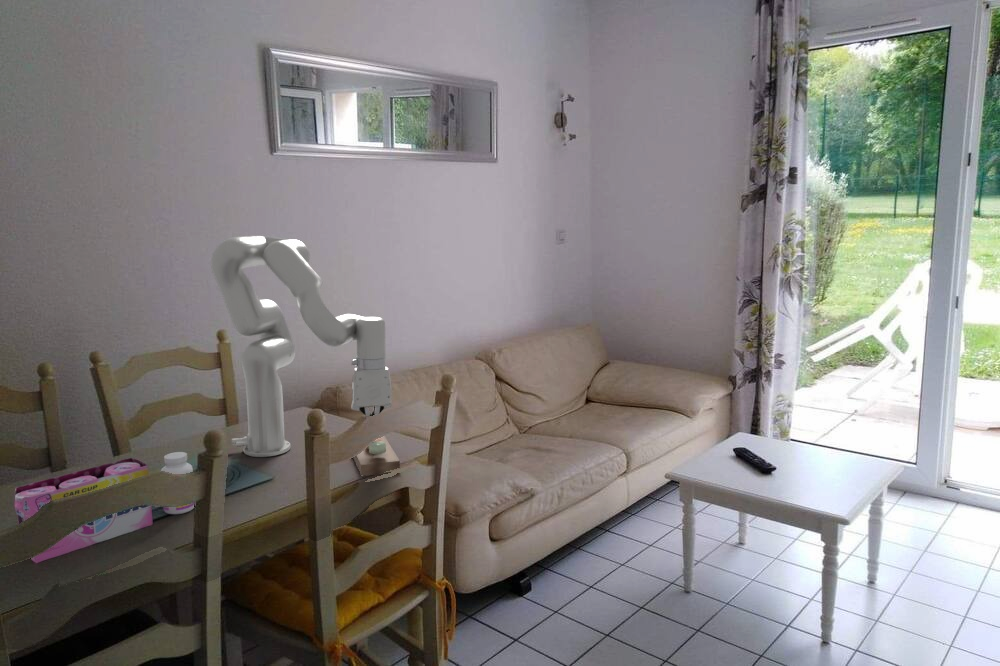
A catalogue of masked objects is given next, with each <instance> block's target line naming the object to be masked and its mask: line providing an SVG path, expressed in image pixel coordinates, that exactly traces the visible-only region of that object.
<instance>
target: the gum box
mask: <svg viewBox="0 0 1000 666" xmlns="http://www.w3.org/2000/svg"><path fill="white" fill-rule="evenodd" d="M145 475H149V476H150V471H149V465H148V464H146V463H145V462H143V461H141V460H139V459H137V458H135V457H130V458H124V459H119V460H117V461H112V462H109V463H105V464H101V465H97V466H93V467H90V468H85V469H81V470H78V471H75V472H71V473H66V474H62V475H59V476H58V475H57V476H55V477H51V478H47V479H42V480H39V481H34V482H32V483H28V484H27V483H26V484H25V485H19V486H17V487H15V489H14V509H15V513H16V516H17V523H18V525H19V524H20V523H21V522H23V521H25V520H27V519H28V518H30V517H31V516H33V515H34V514H35V513H36V512H38V511H39V509H40V508H41V507H42V506H44V505H46V504H47V503H49V502H50V501H52V500H55V499H60V498H66V497H72V496H77V495H81V494H85V493H88V492H92V491H95V490H99V489H103V488H106V487H109V486H112V485H114V484H118V483H122V482H125V481H129V480H132V479H135V478H138V477H142V476H145ZM152 508H153V507H152V505H151V506H142V507H137V508H132V509H128V510H125V511H122V512H118V513H114V514H111V515H109V516H105V517H103V518H101V519H98V520H96V521H94V522H91V523H88V524H86V525H83V526H81V527H79V528H78V529H76V530H75V531H73V532H72V533H70V534H69V535H67V536H66V537H64V538H63V539H62V540H60V541H59V542H58V543H56V544H55V545H54V546H52V547H51V548H49V549H48V550H46V551H45V552H43V553H41V554H39V555H37V556H35V557H33V558H31V559H30V560H31V561H32V562H33V563H35V564H39V563H41V562H43V561H47V560H50V559H53V558H56V557H60V556H62V555H65V554H68V553H71V552H74V551H77V550H80V549H84V548H87V547H90V546H92V545H95V544H97V543H101V542H104V541H108V540H111V539H114V538H116V537H119V536H122V535H125V534H128V533H132V532H134V531H137V530H140V529H143V528H146V527H148V526H152V525H153V511H152Z"/></svg>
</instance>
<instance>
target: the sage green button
mask: <svg viewBox="0 0 1000 666" xmlns="http://www.w3.org/2000/svg"><path fill="white" fill-rule="evenodd" d="M369 452H370V453H372V454H382V453H385V452H386V443H385V442H382V441H375V442H372V443H371V444H369Z"/></svg>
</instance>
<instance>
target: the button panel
mask: <svg viewBox="0 0 1000 666" xmlns="http://www.w3.org/2000/svg"><path fill="white" fill-rule="evenodd" d="M381 441H382V442H385V443H386V452H385V453H382V454H372V453H370V452H369V449H365V450H364V451H362V452H361V453H360V454H358V455H356V456H355V457H354V458H353V461H354V460H355V461H354V462H356V463H355V465H356V464H357V465H356V467H357V466H358V468H359V470H358V471H360V472H359V474H360V473H361V474H360V476H361V475H366V476H367V477H368V476H376V475H382V474H381V473H384V472H386V471H390V470H394V469H397V468H400V469H401V461H400V458H399V457H398V456H397V454H396V451H394V449H393V447H392V446H391V444H390V443H389V441H388V440H387V438H386V436H385V435H384V436H383V437H381ZM358 468H357V469H358ZM366 476H365V477H366Z"/></svg>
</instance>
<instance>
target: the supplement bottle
mask: <svg viewBox="0 0 1000 666" xmlns="http://www.w3.org/2000/svg"><path fill="white" fill-rule="evenodd" d="M187 461H188V453H187V452H184V451H175V452H170V453H168V454H165V455H164V457H163V462H164V464H165V465H164V466H163V467H162V468H161V470H160V472H161V471H165V472H169V473H172V474H186V473H190V472H193V473H194V467H193V465H191V464H190V463H189V462H187ZM162 509H163V512H165V513H166V514H168V515H181V514H185V513H188V512H191V511H192V510H193V509H195V507H194V503H191V504H187V505H183V506H178V507H163V506H162Z"/></svg>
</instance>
